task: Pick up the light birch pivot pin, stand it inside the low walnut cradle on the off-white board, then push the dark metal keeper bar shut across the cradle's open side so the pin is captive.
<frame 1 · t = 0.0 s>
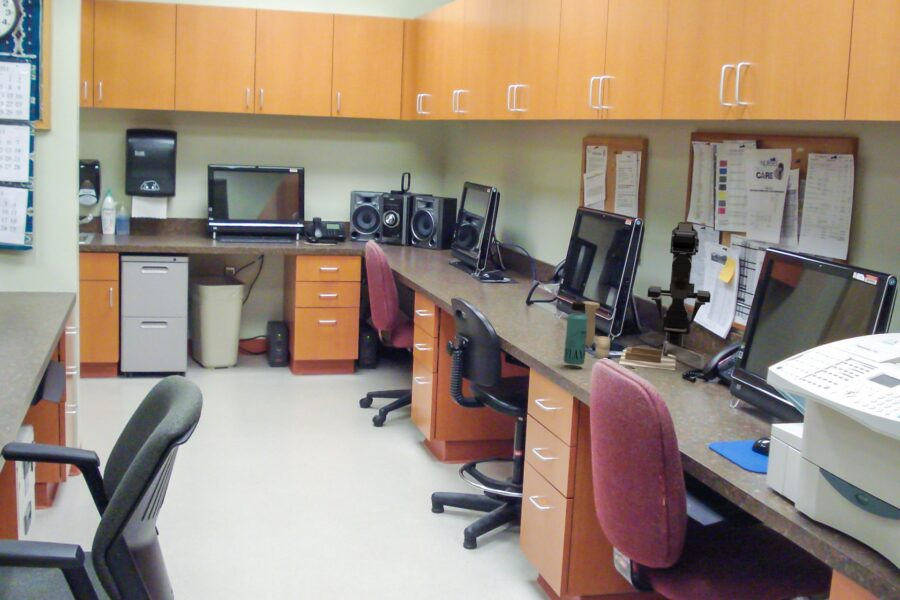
hand: (676, 321, 301), 15 cm above the worktop, fingers open, 9 cm apart
pivot pin: (601, 357, 313), on the worktop
beverage bottle: (573, 367, 297), on the worktop
keeper bar: (682, 354, 307), point 4 cm above the worktop, hinge at 35.0°
cradle: (643, 360, 312), on the worktop
handle: (587, 347, 328), on the worktop
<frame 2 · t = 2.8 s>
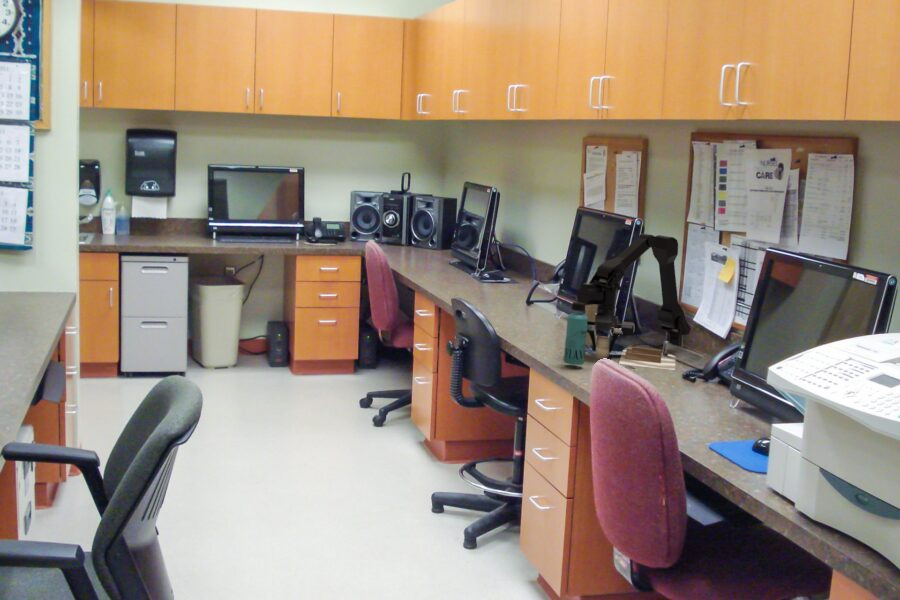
hand: (602, 351, 313), 2 cm above the worktop, fingers closed on pivot pin, 4 cm apart
pivot pin: (601, 357, 313), on the worktop, touching gripper
everything else where it was.
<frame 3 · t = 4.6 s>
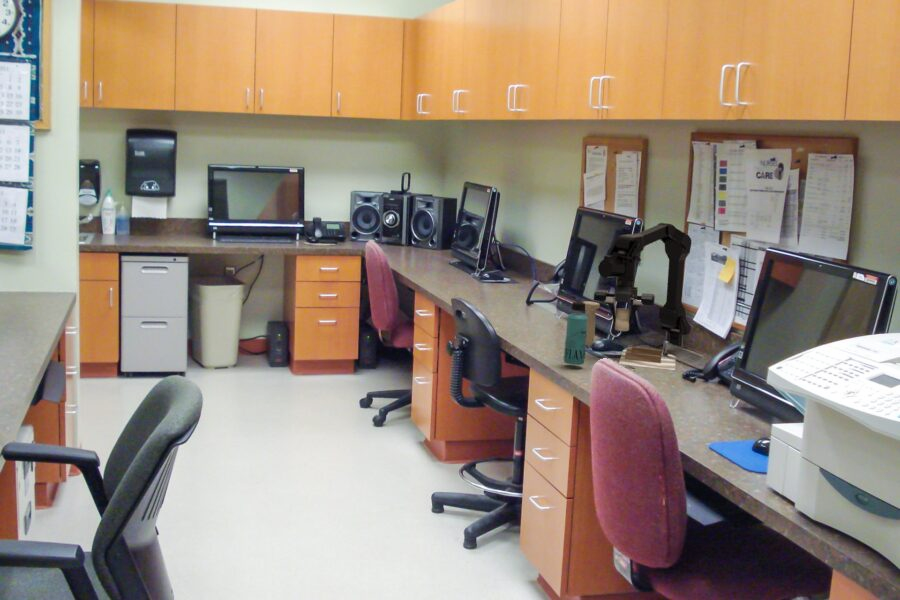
hand: (622, 323, 311), 11 cm above the worktop, fingers closed on pivot pin, 4 cm apart
pivot pin: (621, 329, 312), point 9 cm above the worktop, touching gripper
everything else where it was.
when the fingers open (4 cm above the worktop, at t = 6.8 s): pivot pin drops 1 cm, resting on cradle.
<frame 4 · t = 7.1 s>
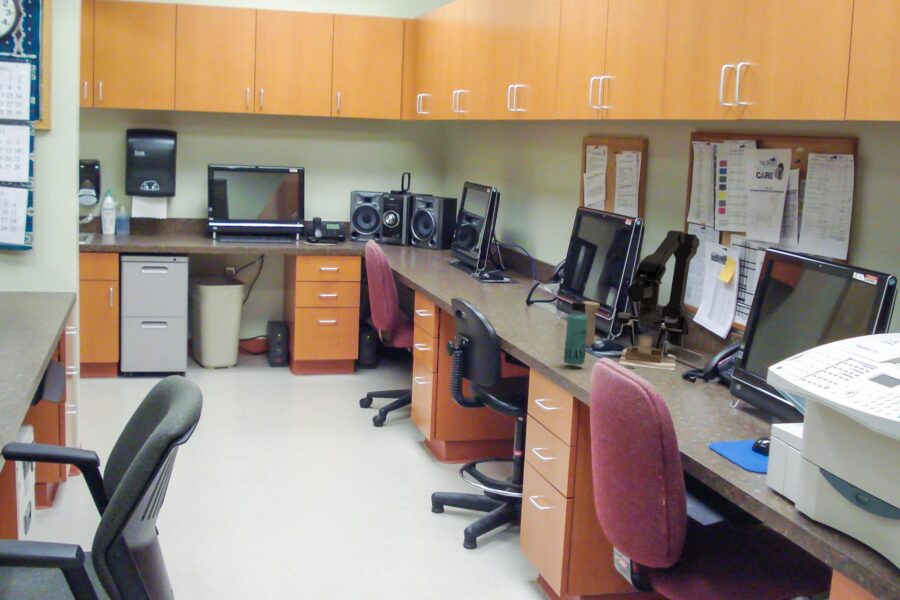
hand: (644, 346, 312), 4 cm above the worktop, fingers open, 7 cm apart
pivot pin: (643, 356, 313), point 1 cm above the worktop, touching cradle
everything else where it was.
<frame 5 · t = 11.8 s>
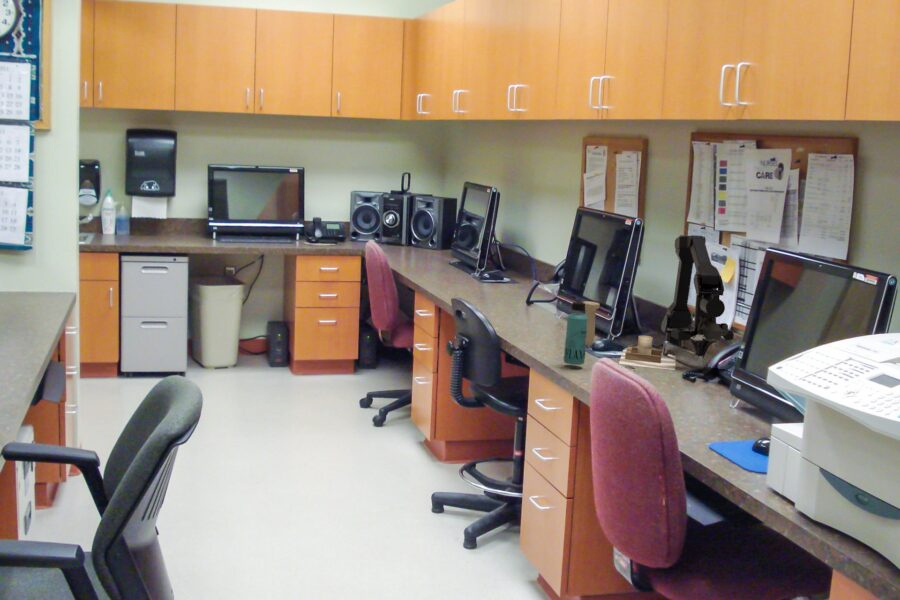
hand: (700, 361, 301), 3 cm above the worktop, fingers closed
keeper bar: (681, 354, 307), point 4 cm above the worktop, hinge at 32.9°, touching gripper
everything else where it was.
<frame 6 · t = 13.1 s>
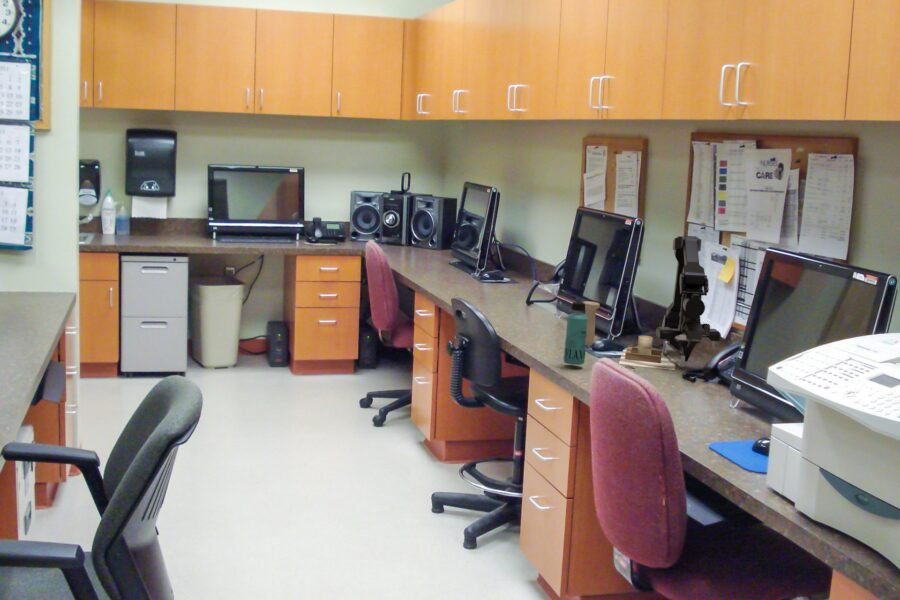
hand: (685, 361, 300), 3 cm above the worktop, fingers closed
keeper bar: (673, 354, 307), point 4 cm above the worktop, hinge at 15.8°, touching gripper
everything else where it was.
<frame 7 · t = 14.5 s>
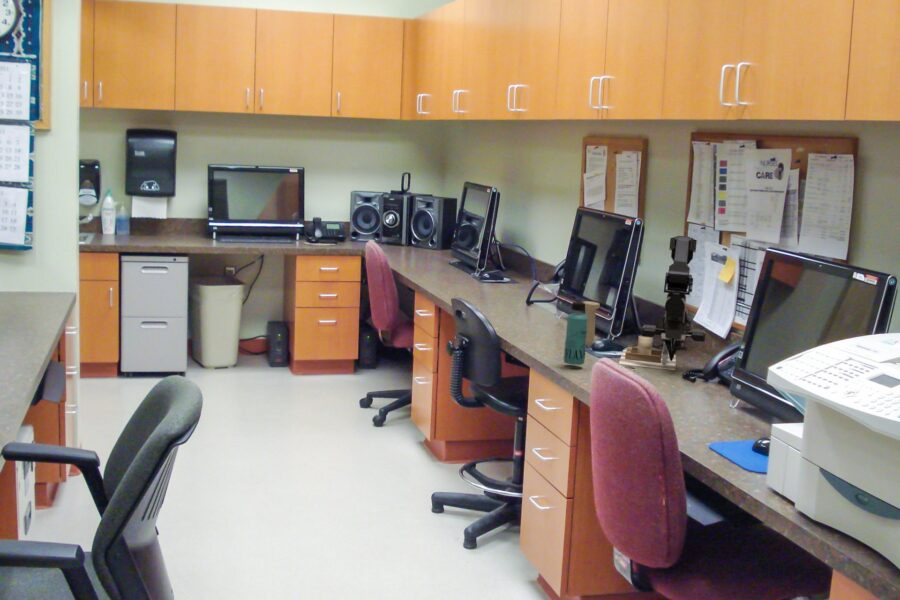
hand: (671, 360, 300), 3 cm above the worktop, fingers closed
keeper bar: (665, 353, 307), point 4 cm above the worktop, hinge at -0.1°, touching gripper
everything else where it was.
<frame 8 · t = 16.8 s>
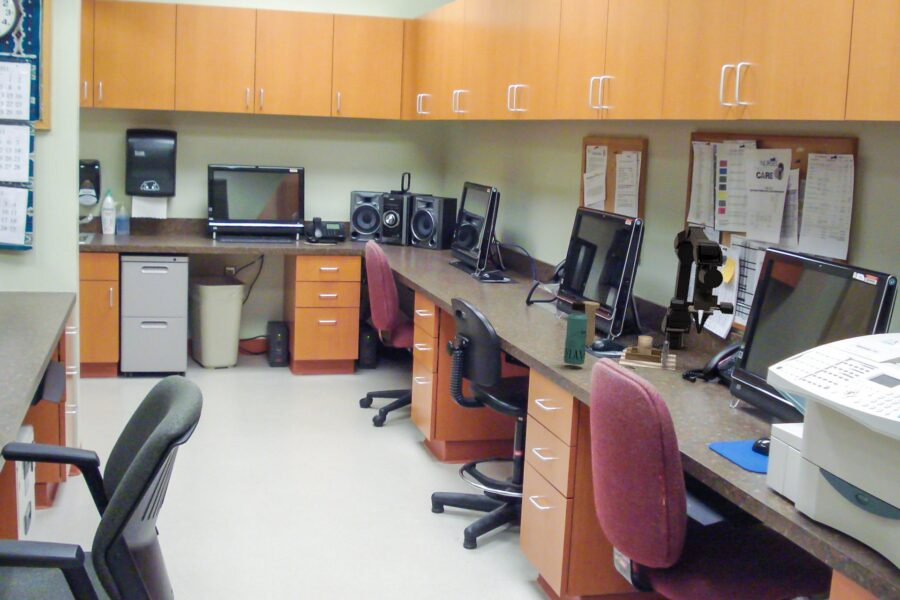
hand: (698, 333, 299), 12 cm above the worktop, fingers closed
keeper bar: (665, 353, 307), point 4 cm above the worktop, hinge at -0.1°
everything else where it was.
at the end: pivot pin 0.5 cm off-centre on the cradle, point 1.0 cm above the cradle's base; pivot pin tilted 0°; keeper bar at +0° (first picture: +35°) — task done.
